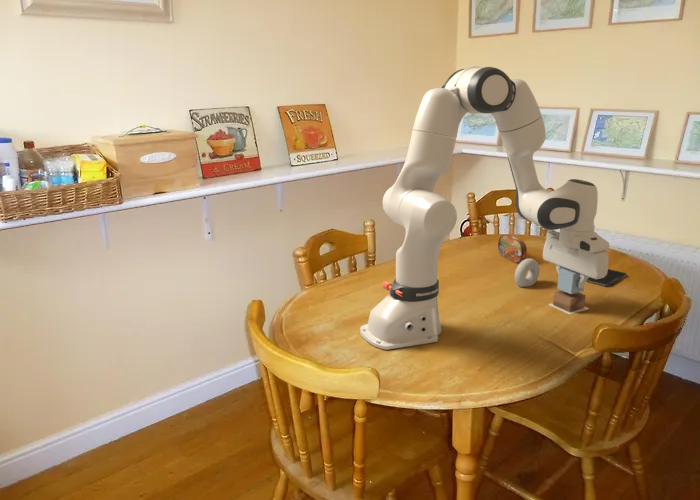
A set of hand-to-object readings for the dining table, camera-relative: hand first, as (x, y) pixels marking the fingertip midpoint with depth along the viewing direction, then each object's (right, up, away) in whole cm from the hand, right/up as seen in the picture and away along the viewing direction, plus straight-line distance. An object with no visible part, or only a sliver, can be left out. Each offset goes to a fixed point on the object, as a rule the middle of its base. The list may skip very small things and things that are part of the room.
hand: (570, 283), depth 159 cm
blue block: (0, -2, +1) cm, 2 cm away
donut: (-7, -3, +20) cm, 21 cm away
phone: (+22, 0, +26) cm, 35 cm away
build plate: (0, -8, +3) cm, 8 cm away
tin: (-3, +6, +47) cm, 47 cm away
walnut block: (0, -7, +2) cm, 7 cm away
